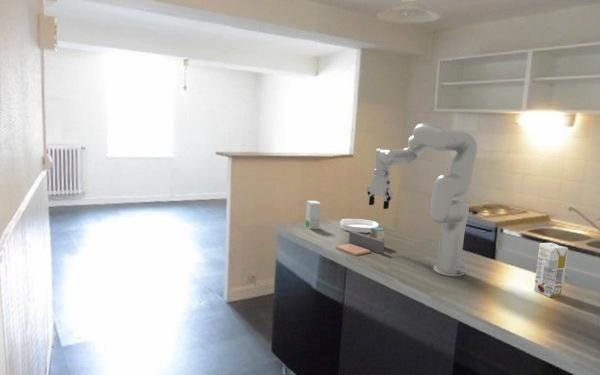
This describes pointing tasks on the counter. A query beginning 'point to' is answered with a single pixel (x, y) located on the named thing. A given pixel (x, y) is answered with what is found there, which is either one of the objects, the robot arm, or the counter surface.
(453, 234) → the robot arm
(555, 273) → the juice carton
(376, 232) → the block
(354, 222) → the pan
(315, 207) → the skincare box
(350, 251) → the terracotta tile
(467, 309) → the counter surface
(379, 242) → the board
